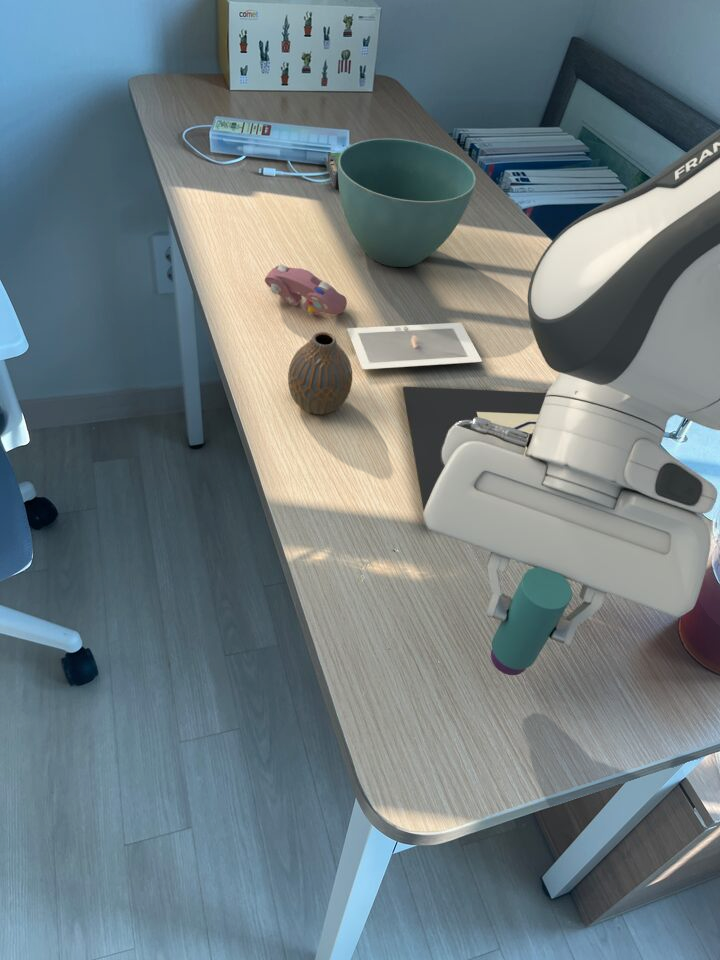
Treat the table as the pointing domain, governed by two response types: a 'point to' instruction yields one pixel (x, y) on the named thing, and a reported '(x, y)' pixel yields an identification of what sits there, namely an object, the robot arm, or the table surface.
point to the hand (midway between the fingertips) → (527, 629)
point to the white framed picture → (412, 345)
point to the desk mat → (446, 407)
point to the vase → (320, 375)
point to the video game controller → (305, 290)
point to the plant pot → (402, 197)
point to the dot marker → (530, 620)
